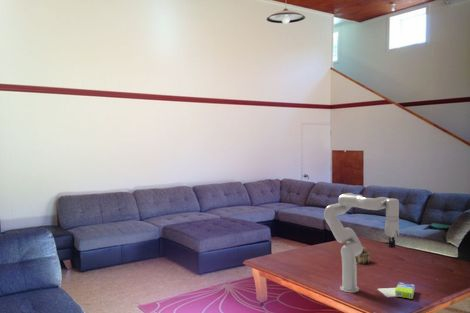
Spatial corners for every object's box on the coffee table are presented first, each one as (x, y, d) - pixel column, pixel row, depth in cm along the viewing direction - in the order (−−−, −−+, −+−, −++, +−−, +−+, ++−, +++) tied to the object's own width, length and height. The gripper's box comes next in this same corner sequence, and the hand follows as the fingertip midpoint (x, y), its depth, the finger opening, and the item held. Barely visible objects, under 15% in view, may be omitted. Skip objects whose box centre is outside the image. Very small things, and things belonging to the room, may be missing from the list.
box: (412, 299, 251) (414, 290, 266) (412, 293, 250) (415, 284, 265) (394, 296, 256) (398, 287, 271) (394, 290, 256) (398, 281, 271)
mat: (377, 289, 270) (377, 288, 270) (399, 288, 271) (399, 287, 271) (387, 297, 256) (387, 296, 256) (410, 296, 257) (410, 295, 257)
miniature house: (346, 260, 337) (346, 247, 337) (358, 258, 343) (358, 245, 343) (359, 265, 324) (359, 251, 323) (371, 262, 330) (371, 249, 330)
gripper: (380, 216, 254) (380, 244, 254) (392, 220, 239) (392, 250, 240) (391, 216, 255) (391, 244, 255) (404, 220, 240) (404, 250, 240)
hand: (392, 247), depth 247 cm, fingers closed
